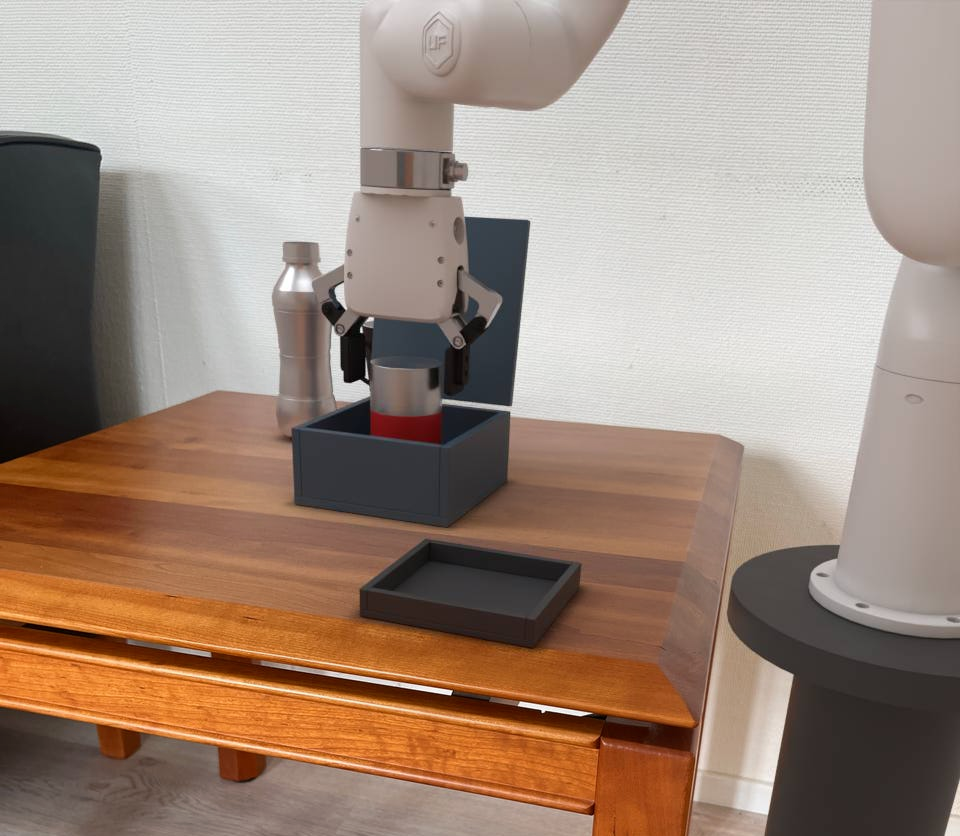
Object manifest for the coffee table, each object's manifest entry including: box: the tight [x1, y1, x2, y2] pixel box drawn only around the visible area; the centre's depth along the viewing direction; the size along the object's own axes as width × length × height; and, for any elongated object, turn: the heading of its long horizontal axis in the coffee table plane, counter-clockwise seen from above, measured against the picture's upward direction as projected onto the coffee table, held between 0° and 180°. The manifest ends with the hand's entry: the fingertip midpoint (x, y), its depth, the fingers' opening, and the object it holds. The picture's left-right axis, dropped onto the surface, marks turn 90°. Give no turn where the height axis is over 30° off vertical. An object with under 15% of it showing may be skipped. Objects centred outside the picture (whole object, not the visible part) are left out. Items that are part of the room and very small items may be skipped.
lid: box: [368, 215, 531, 407], centre depth 98 cm, size 16×15×5 cm
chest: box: [291, 395, 512, 528], centre depth 93 cm, size 16×15×7 cm
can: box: [369, 356, 443, 445], centre depth 92 cm, size 6×6×11 cm
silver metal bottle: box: [271, 241, 338, 438], centre depth 108 cm, size 6×7×20 cm
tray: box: [358, 538, 582, 649], centre depth 71 cm, size 12×11×2 cm
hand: (403, 386), depth 91 cm, fingers open, 9 cm apart
